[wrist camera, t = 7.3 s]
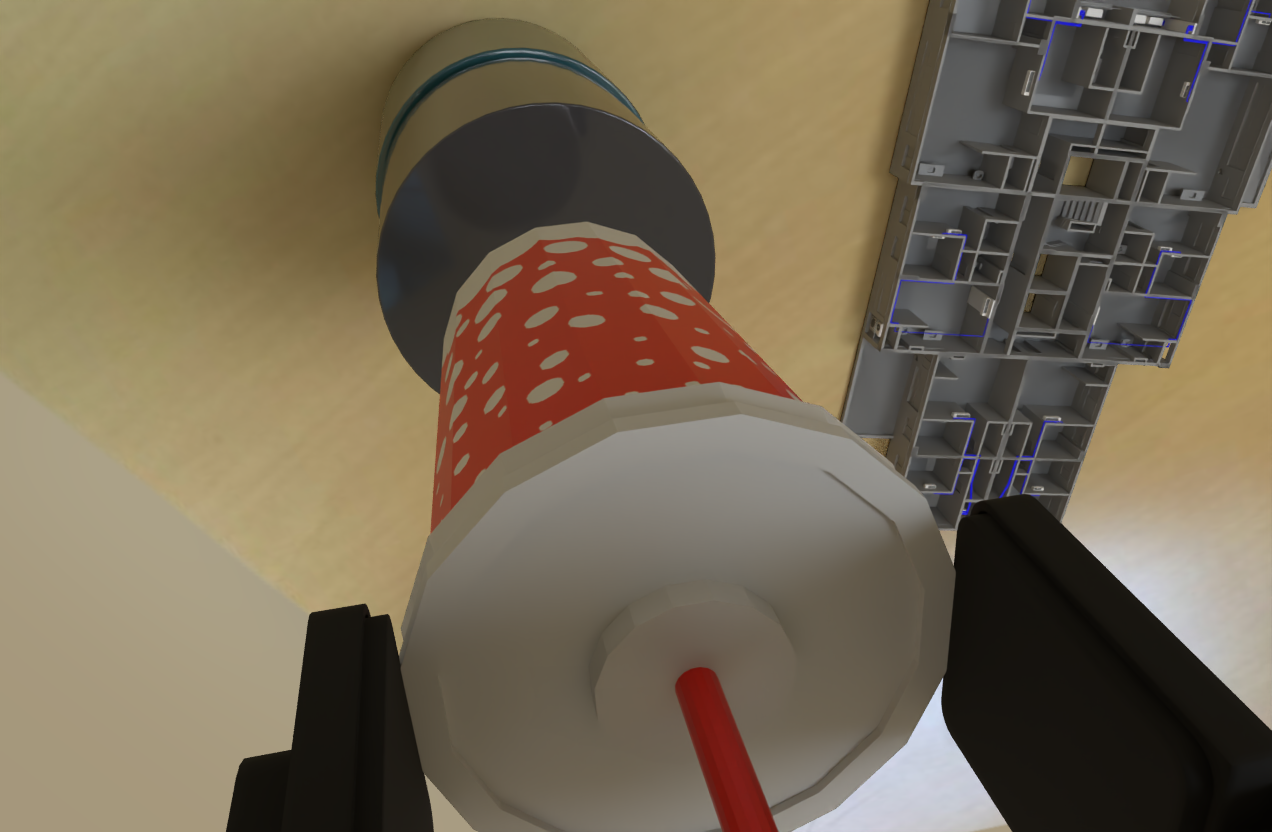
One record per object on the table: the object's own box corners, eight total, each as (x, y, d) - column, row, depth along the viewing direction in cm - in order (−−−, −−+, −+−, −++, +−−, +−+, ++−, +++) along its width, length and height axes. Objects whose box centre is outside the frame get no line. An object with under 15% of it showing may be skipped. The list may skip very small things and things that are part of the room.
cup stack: (345, 204, 39) (315, 369, 26) (434, -27, 36) (450, 26, 23) (560, 290, 42) (630, 475, 29) (658, 83, 39) (784, 185, 26)
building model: (948, -80, 39) (974, -77, 37) (1339, -18, 43) (1379, -14, 41) (810, 506, 49) (825, 529, 48) (1133, 511, 53) (1158, 532, 52)
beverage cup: (706, 493, 21) (1127, 1341, 9) (393, 488, 20) (380, 1491, 7) (763, 192, 18) (1470, 807, 6) (406, 161, 17) (418, 879, 5)
